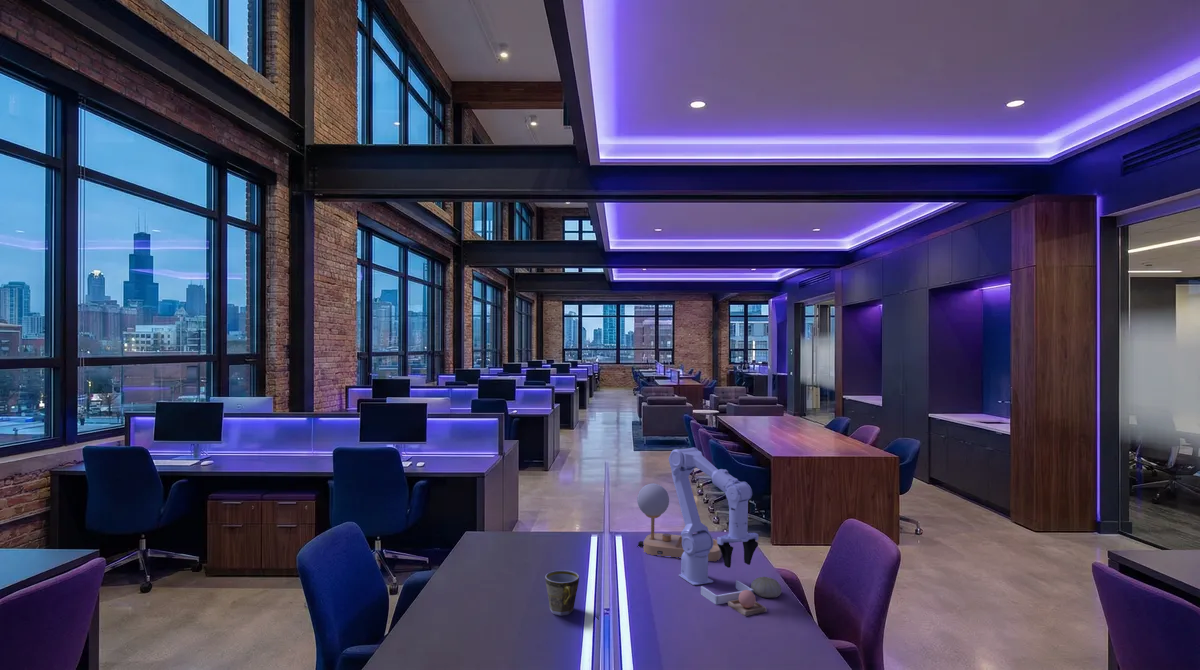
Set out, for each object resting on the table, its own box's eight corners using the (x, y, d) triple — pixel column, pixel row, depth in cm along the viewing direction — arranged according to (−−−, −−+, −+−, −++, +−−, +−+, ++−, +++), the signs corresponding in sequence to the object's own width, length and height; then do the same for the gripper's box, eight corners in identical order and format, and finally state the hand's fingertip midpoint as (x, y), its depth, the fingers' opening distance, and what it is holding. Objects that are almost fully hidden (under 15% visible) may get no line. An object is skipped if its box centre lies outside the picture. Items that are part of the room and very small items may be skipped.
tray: (727, 605, 178) (728, 601, 178) (749, 601, 182) (749, 597, 182) (744, 616, 171) (744, 611, 171) (766, 611, 174) (766, 607, 174)
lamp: (722, 549, 232) (723, 484, 233) (719, 563, 215) (720, 494, 216) (640, 540, 240) (641, 478, 241) (631, 553, 224) (633, 487, 225)
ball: (735, 605, 178) (735, 588, 178) (748, 602, 180) (748, 586, 180) (745, 612, 173) (745, 595, 173) (759, 609, 175) (759, 592, 175)
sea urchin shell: (785, 595, 183) (767, 575, 184) (767, 611, 183) (748, 591, 185) (782, 584, 191) (764, 565, 193) (764, 599, 192) (747, 580, 194)
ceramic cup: (540, 605, 175) (541, 572, 175) (572, 601, 179) (573, 568, 179) (552, 624, 163) (553, 588, 163) (586, 619, 166) (587, 584, 167)
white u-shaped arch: (700, 594, 186) (700, 586, 186) (737, 588, 192) (737, 580, 192) (716, 604, 179) (716, 596, 179) (753, 597, 184) (753, 589, 185)
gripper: (726, 527, 178) (726, 572, 178) (765, 523, 184) (764, 566, 184) (713, 521, 185) (712, 564, 184) (750, 517, 191) (749, 559, 190)
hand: (737, 565), depth 184 cm, fingers open, 7 cm apart
